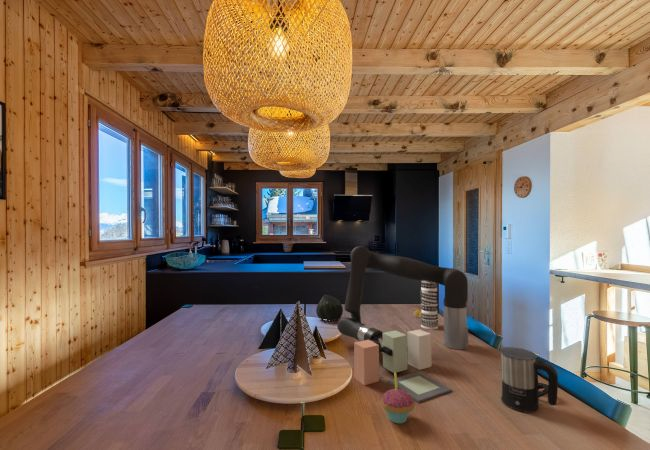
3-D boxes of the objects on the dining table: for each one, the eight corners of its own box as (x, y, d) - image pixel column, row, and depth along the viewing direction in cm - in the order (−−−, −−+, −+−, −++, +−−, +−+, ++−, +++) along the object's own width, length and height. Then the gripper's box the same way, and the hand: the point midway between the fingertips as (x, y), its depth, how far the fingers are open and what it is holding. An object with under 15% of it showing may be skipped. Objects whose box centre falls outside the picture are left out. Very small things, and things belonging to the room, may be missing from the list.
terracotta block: (354, 377, 107) (354, 342, 107) (368, 373, 109) (368, 339, 110) (364, 385, 101) (363, 348, 101) (379, 381, 104) (378, 345, 104)
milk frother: (503, 409, 87) (502, 356, 87) (494, 383, 102) (493, 337, 102) (564, 419, 82) (563, 363, 82) (545, 391, 97) (544, 343, 97)
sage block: (383, 366, 112) (382, 333, 112) (396, 363, 115) (395, 330, 115) (393, 373, 107) (393, 338, 107) (407, 369, 109) (406, 335, 110)
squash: (350, 311, 172) (339, 289, 181) (328, 317, 164) (317, 293, 172) (339, 324, 181) (329, 301, 189) (318, 330, 173) (308, 306, 181)
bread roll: (425, 319, 176) (425, 312, 176) (411, 316, 182) (411, 309, 182) (433, 317, 181) (433, 310, 181) (419, 314, 188) (419, 307, 188)
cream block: (407, 363, 118) (407, 331, 118) (419, 360, 120) (419, 329, 121) (419, 369, 112) (419, 336, 112) (431, 366, 115) (431, 333, 115)
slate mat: (387, 382, 103) (387, 380, 103) (419, 373, 109) (419, 371, 110) (418, 402, 91) (418, 400, 91) (451, 391, 97) (451, 389, 97)
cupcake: (378, 410, 87) (377, 367, 87) (407, 408, 88) (407, 365, 88) (387, 429, 79) (386, 381, 79) (419, 427, 79) (418, 379, 80)
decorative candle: (440, 325, 164) (440, 278, 164) (436, 330, 156) (435, 280, 157) (423, 323, 169) (422, 277, 169) (418, 327, 161) (417, 279, 161)
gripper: (355, 330, 120) (382, 344, 105) (385, 324, 127) (414, 337, 112) (356, 350, 120) (383, 366, 105) (385, 343, 127) (415, 358, 112)
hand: (399, 351), depth 109 cm, fingers closed on sage block, 6 cm apart
